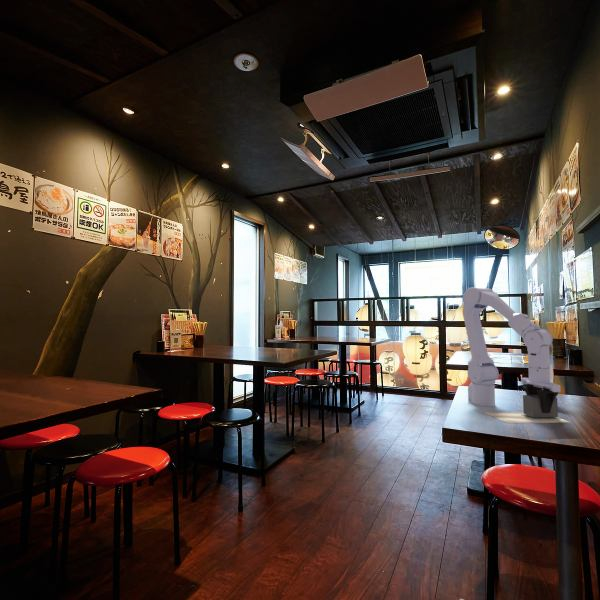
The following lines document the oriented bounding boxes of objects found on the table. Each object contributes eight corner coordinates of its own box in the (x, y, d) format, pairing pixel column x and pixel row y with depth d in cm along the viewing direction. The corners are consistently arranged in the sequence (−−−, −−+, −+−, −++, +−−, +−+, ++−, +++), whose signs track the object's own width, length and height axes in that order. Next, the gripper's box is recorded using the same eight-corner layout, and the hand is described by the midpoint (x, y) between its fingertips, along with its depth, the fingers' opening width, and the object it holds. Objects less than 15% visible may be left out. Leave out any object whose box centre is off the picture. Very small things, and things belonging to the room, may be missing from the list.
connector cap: (523, 413, 114) (522, 394, 115) (547, 413, 115) (546, 394, 115) (533, 417, 110) (532, 397, 110) (558, 417, 110) (557, 397, 111)
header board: (484, 417, 118) (483, 403, 118) (542, 416, 119) (541, 402, 119) (507, 428, 106) (506, 412, 106) (571, 427, 107) (570, 412, 107)
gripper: (512, 364, 120) (513, 405, 120) (543, 370, 106) (545, 417, 105) (532, 364, 121) (533, 405, 120) (566, 370, 106) (568, 416, 106)
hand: (540, 410), depth 113 cm, fingers closed on connector cap, 4 cm apart
